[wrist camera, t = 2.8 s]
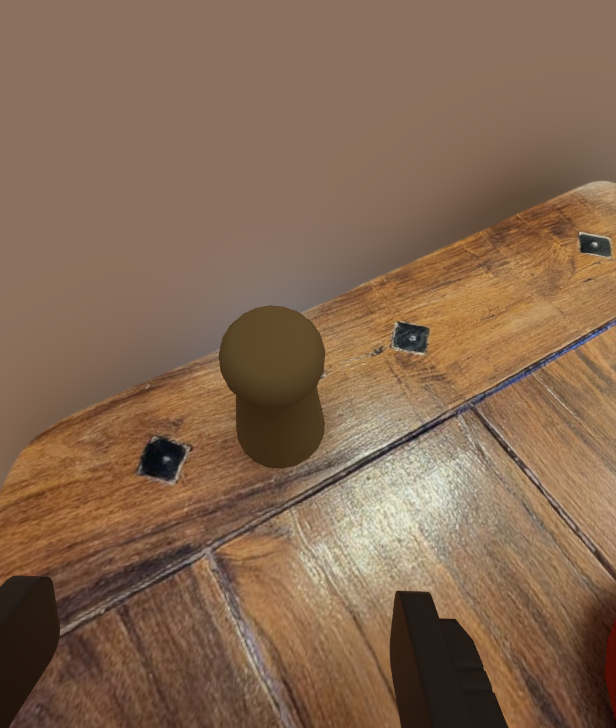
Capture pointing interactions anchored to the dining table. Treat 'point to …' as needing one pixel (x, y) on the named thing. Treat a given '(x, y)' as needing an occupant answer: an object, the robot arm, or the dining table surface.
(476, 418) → the dining table surface
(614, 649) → the apple
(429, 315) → the dining table surface
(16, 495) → the dining table surface
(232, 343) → the cork
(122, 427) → the dining table surface
